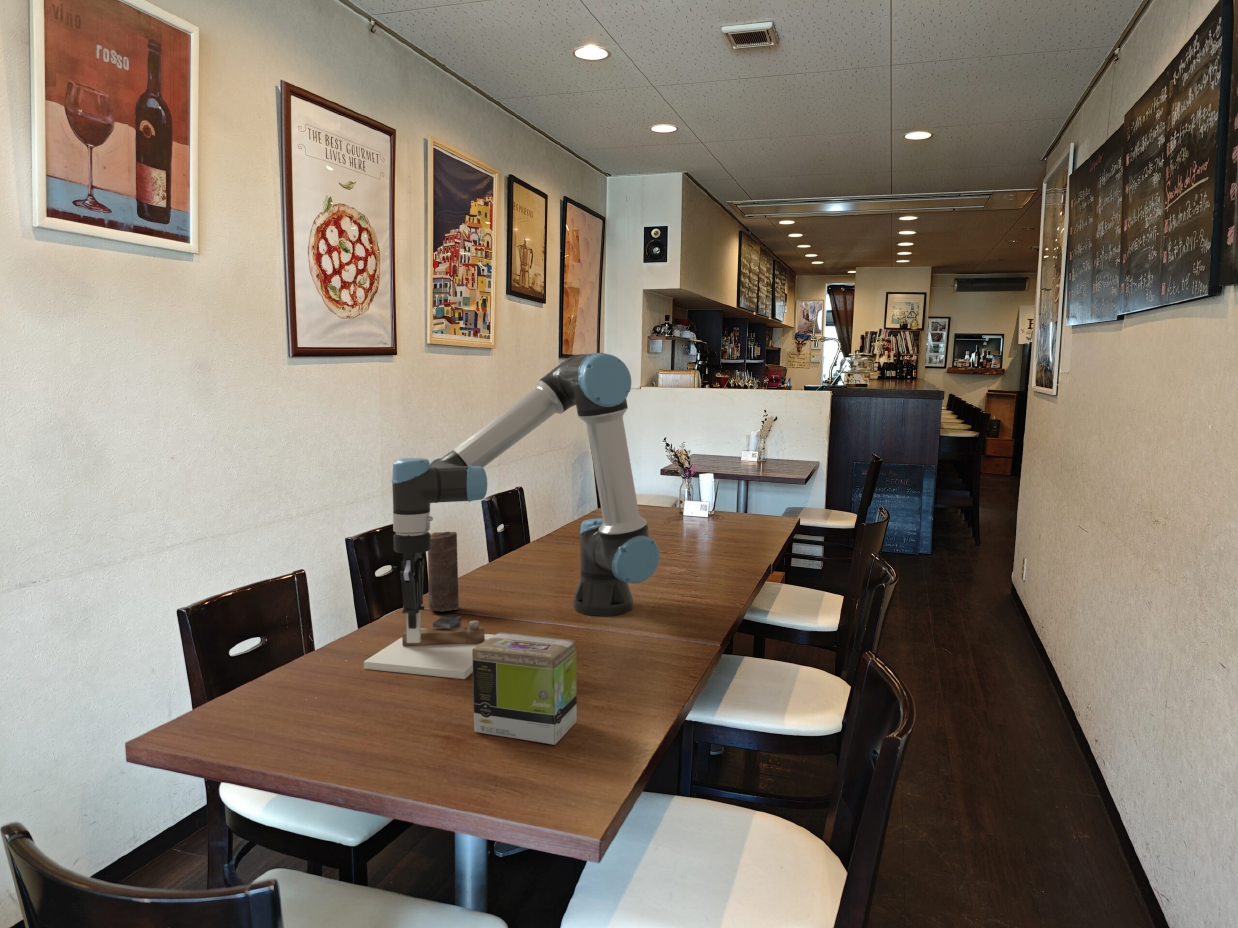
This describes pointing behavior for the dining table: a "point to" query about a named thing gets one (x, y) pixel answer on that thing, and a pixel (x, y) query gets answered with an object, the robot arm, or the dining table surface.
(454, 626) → the keeper
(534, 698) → the tea box
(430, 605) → the candle
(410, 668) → the base plate
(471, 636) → the link
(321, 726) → the dining table surface
